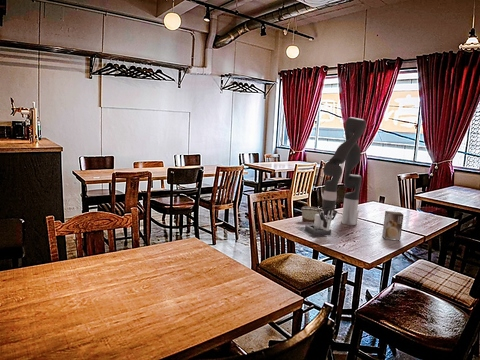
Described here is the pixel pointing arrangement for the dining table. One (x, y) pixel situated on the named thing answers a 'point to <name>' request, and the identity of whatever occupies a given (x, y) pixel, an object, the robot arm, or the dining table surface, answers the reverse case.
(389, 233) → the coffee box
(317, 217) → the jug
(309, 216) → the food container
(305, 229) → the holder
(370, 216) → the dining table surface
